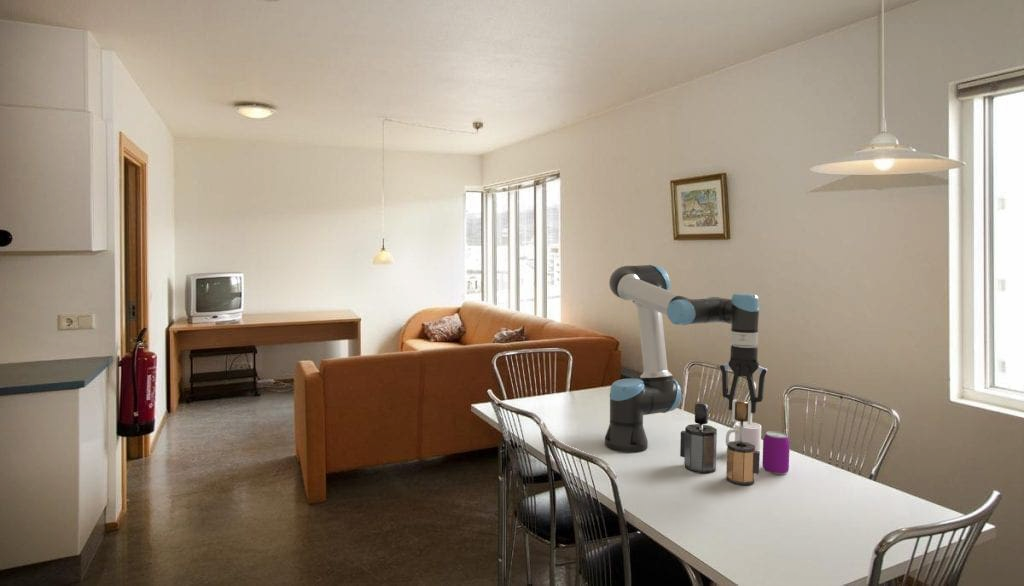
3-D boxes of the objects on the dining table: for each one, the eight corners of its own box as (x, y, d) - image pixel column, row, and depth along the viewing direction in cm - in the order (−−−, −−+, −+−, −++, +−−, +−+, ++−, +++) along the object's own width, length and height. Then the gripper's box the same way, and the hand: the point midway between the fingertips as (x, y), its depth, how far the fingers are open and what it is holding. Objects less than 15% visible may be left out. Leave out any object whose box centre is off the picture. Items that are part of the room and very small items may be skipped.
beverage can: (768, 464, 194) (769, 428, 193) (792, 471, 189) (793, 434, 188) (758, 470, 189) (759, 433, 188) (782, 477, 183) (784, 439, 182)
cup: (765, 457, 201) (766, 428, 200) (730, 458, 200) (731, 429, 199) (752, 449, 209) (753, 420, 208) (720, 450, 208) (720, 421, 207)
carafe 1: (676, 469, 190) (677, 429, 189) (684, 459, 199) (685, 421, 198) (711, 475, 185) (712, 434, 184) (718, 466, 193) (719, 426, 192)
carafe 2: (723, 482, 180) (724, 446, 179) (729, 473, 187) (730, 439, 186) (755, 488, 175) (757, 452, 174) (760, 479, 182) (761, 444, 181)
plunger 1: (687, 461, 190) (688, 404, 189) (692, 455, 196) (693, 400, 194) (708, 465, 187) (709, 407, 185) (713, 459, 192) (714, 402, 191)
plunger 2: (729, 460, 180) (731, 402, 178) (733, 455, 184) (735, 398, 183) (748, 463, 177) (750, 405, 176) (751, 458, 181) (753, 401, 180)
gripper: (712, 344, 179) (710, 421, 181) (772, 349, 170) (770, 430, 172) (717, 341, 185) (715, 415, 187) (776, 346, 177) (773, 423, 178)
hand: (741, 422), depth 180 cm, fingers closed on plunger 2, 4 cm apart
